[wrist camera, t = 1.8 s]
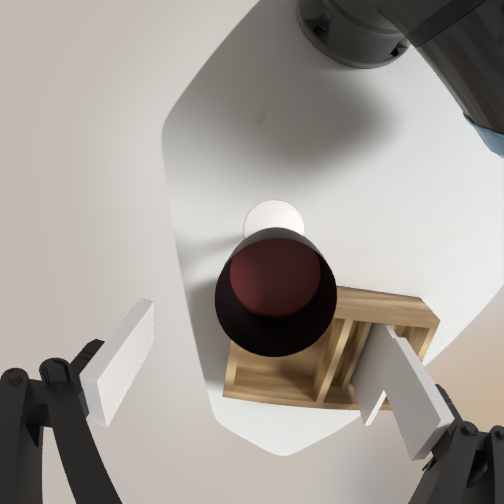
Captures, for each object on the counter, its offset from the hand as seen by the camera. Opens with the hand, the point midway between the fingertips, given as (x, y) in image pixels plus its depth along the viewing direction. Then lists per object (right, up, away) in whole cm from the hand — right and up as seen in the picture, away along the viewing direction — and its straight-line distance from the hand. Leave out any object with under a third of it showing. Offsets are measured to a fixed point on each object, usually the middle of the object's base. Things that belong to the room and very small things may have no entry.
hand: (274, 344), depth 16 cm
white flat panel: (+15, -8, +27) cm, 32 cm away
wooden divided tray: (+9, -7, +27) cm, 30 cm away
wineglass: (+2, +8, +23) cm, 25 cm away
